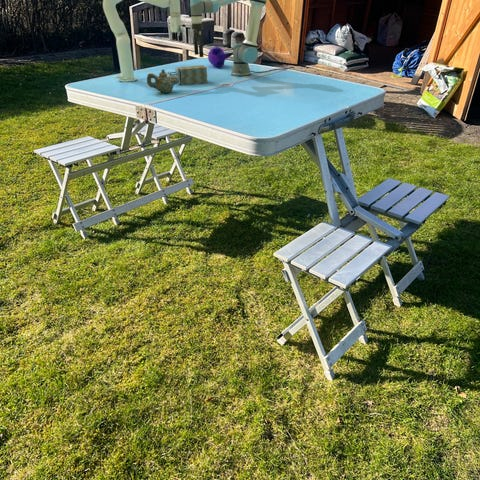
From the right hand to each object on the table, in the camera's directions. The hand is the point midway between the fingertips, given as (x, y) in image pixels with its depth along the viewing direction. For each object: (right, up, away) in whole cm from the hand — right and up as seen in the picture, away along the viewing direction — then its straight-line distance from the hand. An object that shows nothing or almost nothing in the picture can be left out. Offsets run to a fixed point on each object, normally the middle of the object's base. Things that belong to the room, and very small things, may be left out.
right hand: (199, 55), depth 323 cm
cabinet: (-5, -17, +8) cm, 19 cm away
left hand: (-17, +17, +13) cm, 27 cm away
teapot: (-22, -33, -20) cm, 44 cm away
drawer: (-10, -17, +6) cm, 21 cm away
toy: (+12, +17, +64) cm, 67 cm away
